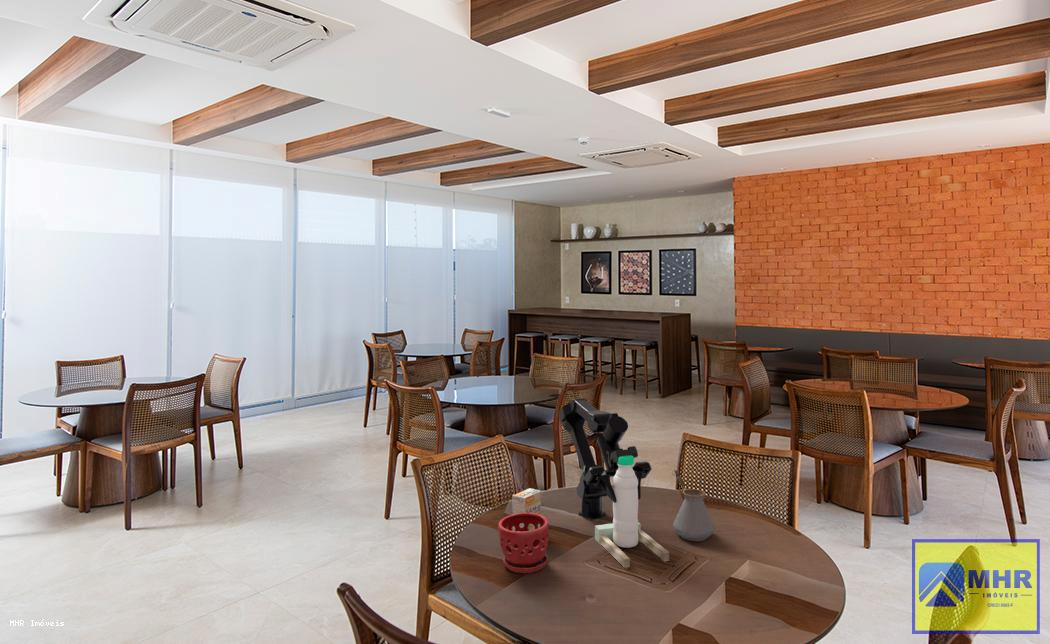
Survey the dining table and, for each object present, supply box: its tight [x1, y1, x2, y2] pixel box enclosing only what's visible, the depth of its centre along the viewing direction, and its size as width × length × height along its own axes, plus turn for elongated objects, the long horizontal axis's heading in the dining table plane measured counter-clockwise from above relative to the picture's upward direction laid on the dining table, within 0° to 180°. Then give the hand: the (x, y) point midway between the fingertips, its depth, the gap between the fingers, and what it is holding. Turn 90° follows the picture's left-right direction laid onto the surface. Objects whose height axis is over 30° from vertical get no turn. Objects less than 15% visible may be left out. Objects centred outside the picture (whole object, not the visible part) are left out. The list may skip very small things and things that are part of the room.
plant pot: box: [498, 513, 550, 574], centre depth 156 cm, size 13×13×12 cm
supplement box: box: [511, 487, 542, 532], centre depth 175 cm, size 8×5×13 cm, turn 143°
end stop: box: [594, 521, 642, 544], centre depth 173 cm, size 3×13×4 cm, turn 107°
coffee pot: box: [671, 469, 715, 542], centre depth 179 cm, size 21×12×15 cm, turn 6°
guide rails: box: [598, 529, 670, 568], centre depth 164 cm, size 16×13×2 cm
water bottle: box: [612, 456, 639, 549], centre depth 167 cm, size 7×7×25 cm
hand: (627, 500), depth 166 cm, fingers closed on water bottle, 7 cm apart
